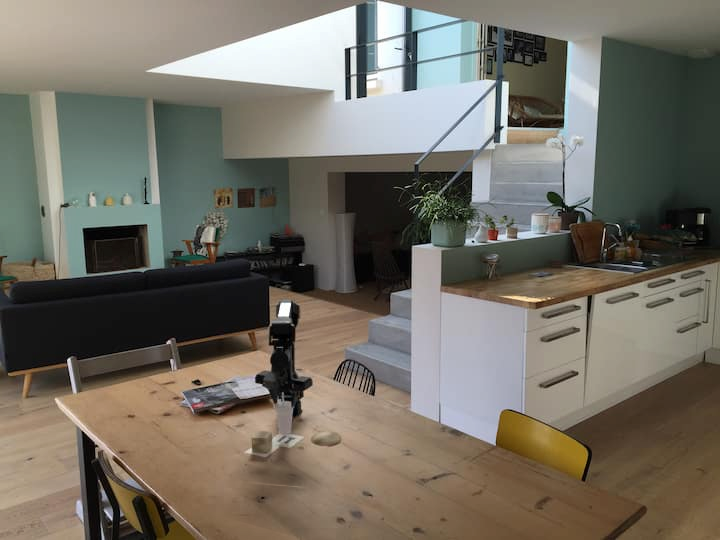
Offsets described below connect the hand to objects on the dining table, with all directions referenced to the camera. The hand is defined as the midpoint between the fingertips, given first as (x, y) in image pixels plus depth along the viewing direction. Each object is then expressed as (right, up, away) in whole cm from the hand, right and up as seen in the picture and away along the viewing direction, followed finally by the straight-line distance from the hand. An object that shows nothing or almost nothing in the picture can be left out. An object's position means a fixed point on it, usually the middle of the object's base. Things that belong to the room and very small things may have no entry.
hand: (284, 405), depth 195 cm
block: (-6, -13, -5) cm, 15 cm away
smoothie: (0, -9, +1) cm, 10 cm away
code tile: (0, -12, +2) cm, 12 cm away
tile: (-6, -13, -5) cm, 15 cm away
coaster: (+13, -12, +2) cm, 18 cm away
